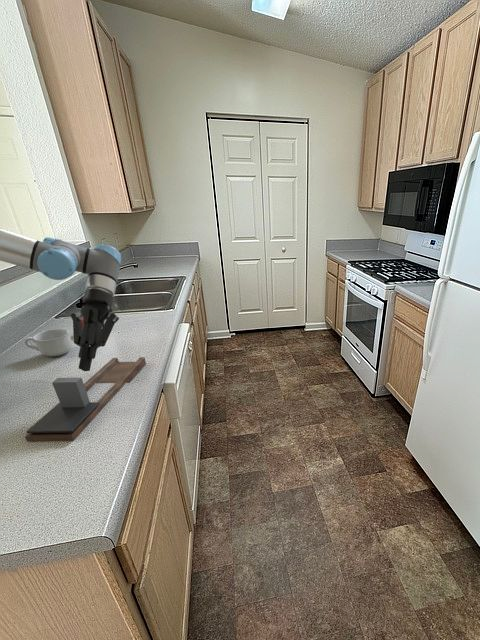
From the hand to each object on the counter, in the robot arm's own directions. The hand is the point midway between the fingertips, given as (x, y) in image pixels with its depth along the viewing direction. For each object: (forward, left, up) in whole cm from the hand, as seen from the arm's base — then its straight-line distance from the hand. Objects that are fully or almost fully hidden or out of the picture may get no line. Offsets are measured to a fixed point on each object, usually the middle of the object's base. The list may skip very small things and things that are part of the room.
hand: (84, 369), depth 91 cm
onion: (-61, +11, -10) cm, 63 cm away
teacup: (-46, -4, -10) cm, 48 cm away
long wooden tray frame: (-1, +1, -10) cm, 10 cm away
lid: (+9, -8, -7) cm, 14 cm away
